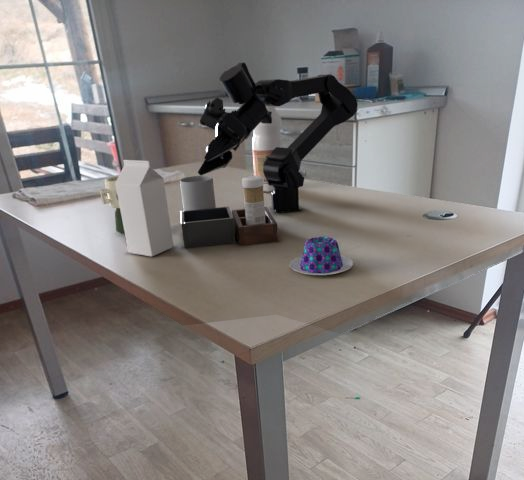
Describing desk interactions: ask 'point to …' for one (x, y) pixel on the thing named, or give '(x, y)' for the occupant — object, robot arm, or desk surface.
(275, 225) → the rack
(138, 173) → the milk carton
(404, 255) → the desk surface
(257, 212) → the sprinkles bottle
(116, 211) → the character mug
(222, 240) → the dark grey open box
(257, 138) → the fruit juice
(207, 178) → the cup
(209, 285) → the desk surface
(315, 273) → the purple bucket hat
